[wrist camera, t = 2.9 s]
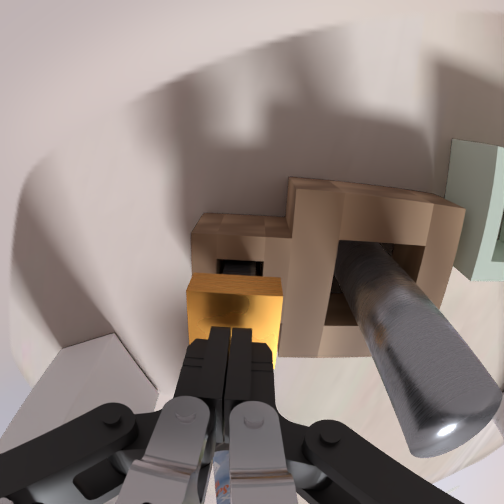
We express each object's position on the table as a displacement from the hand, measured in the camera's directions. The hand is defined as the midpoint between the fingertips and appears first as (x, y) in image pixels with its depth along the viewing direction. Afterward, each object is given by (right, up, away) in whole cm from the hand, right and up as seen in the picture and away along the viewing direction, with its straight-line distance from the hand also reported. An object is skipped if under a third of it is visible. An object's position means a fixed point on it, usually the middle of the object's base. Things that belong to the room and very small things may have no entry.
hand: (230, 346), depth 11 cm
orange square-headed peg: (0, +2, +6) cm, 7 cm away
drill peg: (+8, +3, +9) cm, 12 cm away
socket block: (+5, +3, +9) cm, 11 cm away
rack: (+18, +7, +7) cm, 21 cm away
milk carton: (-12, -7, +13) cm, 19 cm away
